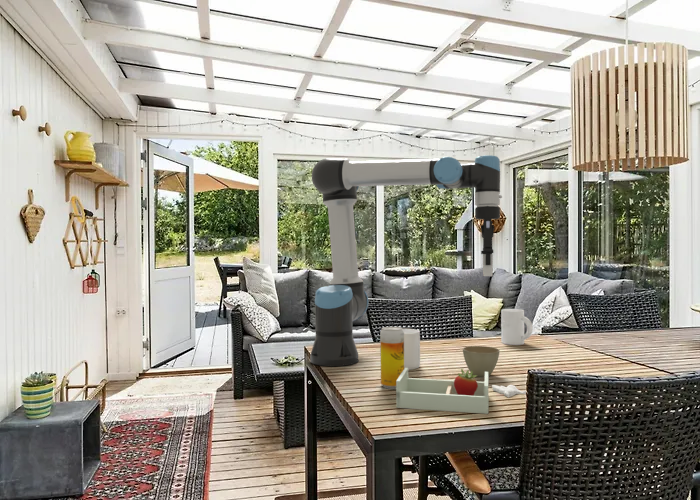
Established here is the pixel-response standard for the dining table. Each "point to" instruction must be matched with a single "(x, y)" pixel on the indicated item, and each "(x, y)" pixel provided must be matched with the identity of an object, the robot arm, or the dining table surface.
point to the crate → (439, 395)
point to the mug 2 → (514, 326)
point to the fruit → (465, 383)
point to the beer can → (391, 355)
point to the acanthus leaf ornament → (507, 390)
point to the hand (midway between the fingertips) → (487, 274)
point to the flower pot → (481, 359)
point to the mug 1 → (411, 348)
